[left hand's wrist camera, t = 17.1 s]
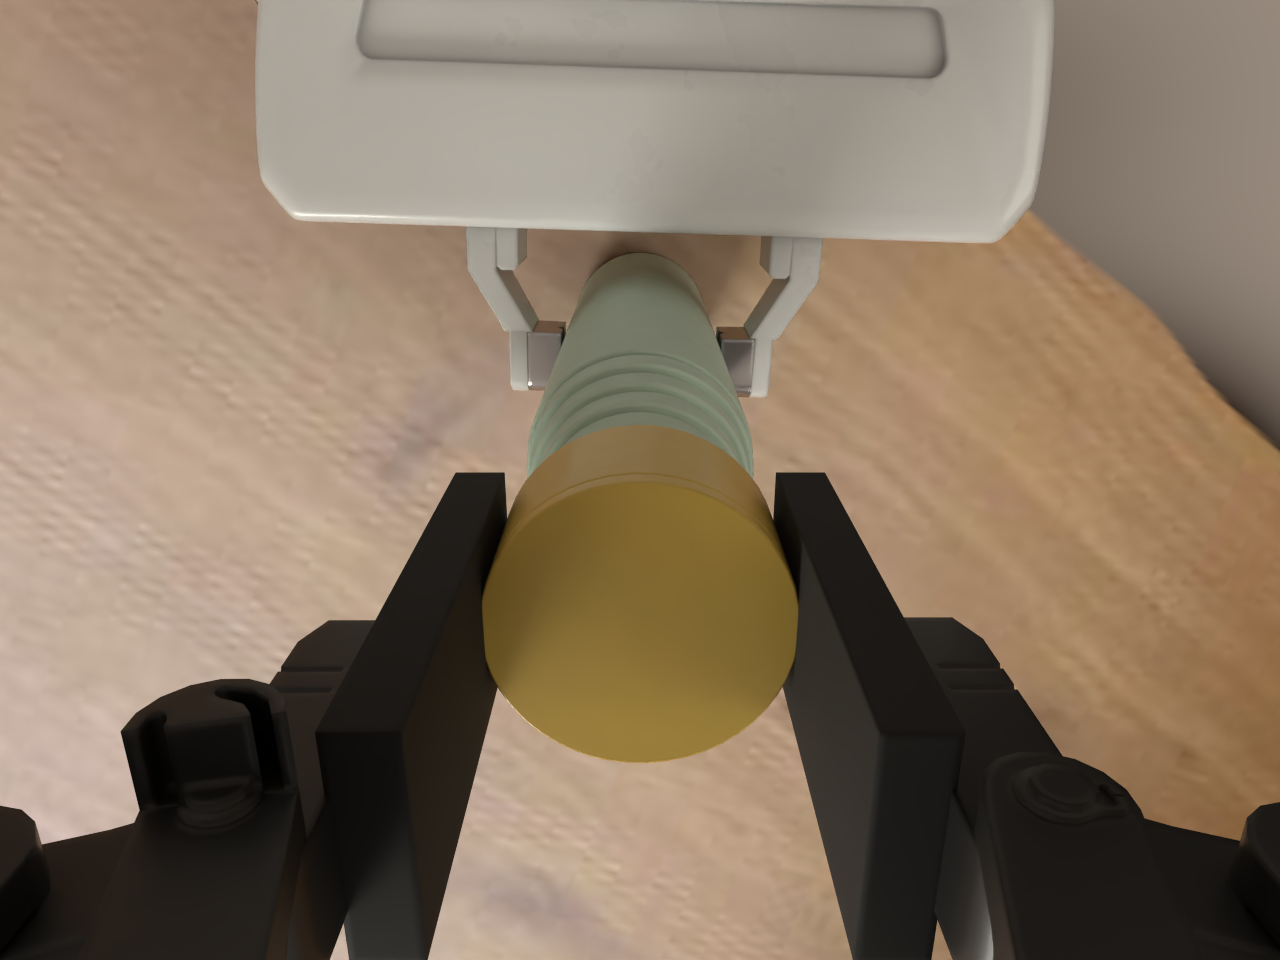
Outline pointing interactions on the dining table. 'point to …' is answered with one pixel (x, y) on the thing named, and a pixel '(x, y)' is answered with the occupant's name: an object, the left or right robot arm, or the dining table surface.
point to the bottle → (640, 363)
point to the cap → (640, 597)
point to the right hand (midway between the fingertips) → (640, 389)
